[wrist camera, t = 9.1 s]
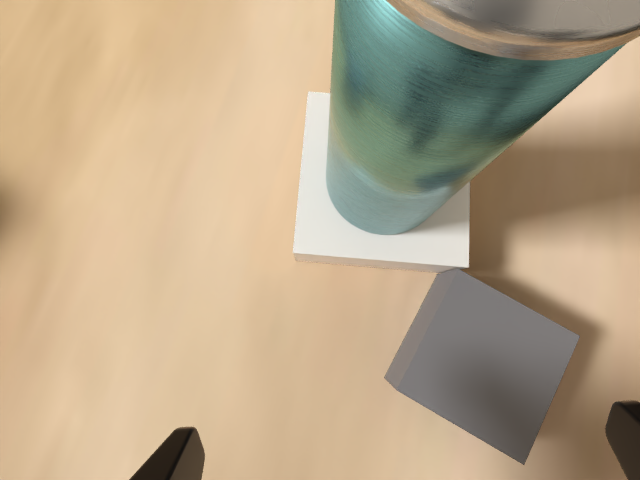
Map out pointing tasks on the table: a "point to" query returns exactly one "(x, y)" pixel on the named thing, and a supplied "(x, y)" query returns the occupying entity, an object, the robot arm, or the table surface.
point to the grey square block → (483, 362)
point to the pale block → (360, 246)
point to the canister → (449, 92)
